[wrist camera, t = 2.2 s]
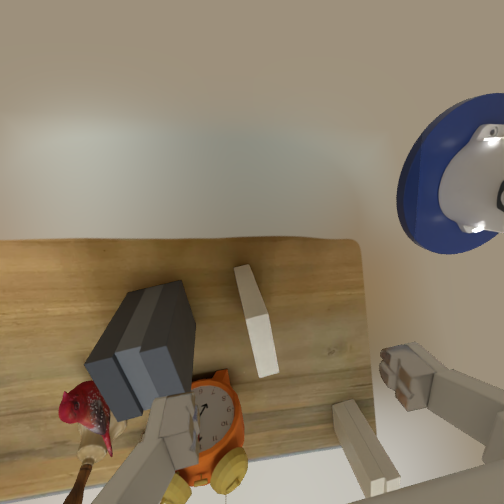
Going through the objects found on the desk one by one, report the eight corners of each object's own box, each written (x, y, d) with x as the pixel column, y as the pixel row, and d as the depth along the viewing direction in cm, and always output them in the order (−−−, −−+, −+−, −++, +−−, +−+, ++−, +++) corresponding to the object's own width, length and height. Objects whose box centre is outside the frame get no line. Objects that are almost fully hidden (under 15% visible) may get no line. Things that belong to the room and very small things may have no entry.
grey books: (181, 279, 39) (166, 345, 25) (196, 325, 42) (190, 405, 28) (127, 292, 38) (81, 367, 24) (147, 337, 42) (116, 426, 28)
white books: (353, 398, 56) (400, 476, 42) (354, 424, 59) (398, 504, 45) (331, 404, 55) (373, 486, 42) (334, 430, 59) (372, 513, 45)
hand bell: (135, 418, 47) (102, 535, 33) (109, 444, 49) (66, 567, 34) (95, 401, 44) (39, 521, 30) (69, 429, 46) (2, 557, 31)
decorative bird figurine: (99, 348, 41) (67, 403, 31) (131, 419, 47) (112, 482, 38) (80, 352, 40) (42, 408, 31) (115, 423, 47) (93, 487, 38)
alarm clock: (235, 364, 47) (252, 497, 28) (239, 387, 49) (257, 525, 30) (164, 379, 45) (133, 530, 27) (171, 402, 47) (148, 557, 29)
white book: (249, 263, 40) (268, 313, 27) (258, 309, 43) (279, 372, 30) (233, 267, 40) (245, 319, 27) (243, 312, 43) (259, 378, 30)
